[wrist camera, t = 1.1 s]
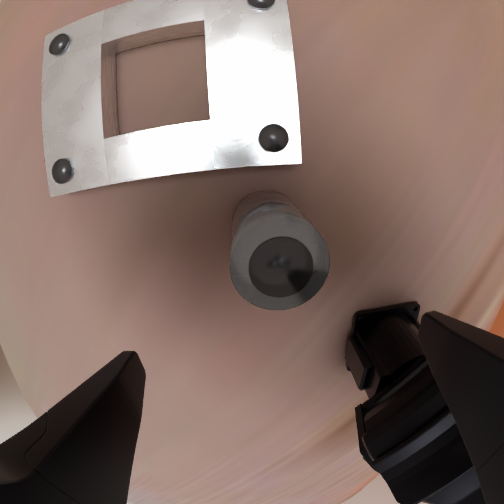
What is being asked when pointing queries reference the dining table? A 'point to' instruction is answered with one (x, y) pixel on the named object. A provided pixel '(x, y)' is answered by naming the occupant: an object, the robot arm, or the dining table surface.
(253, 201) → the cylinder
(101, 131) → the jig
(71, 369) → the dining table surface
